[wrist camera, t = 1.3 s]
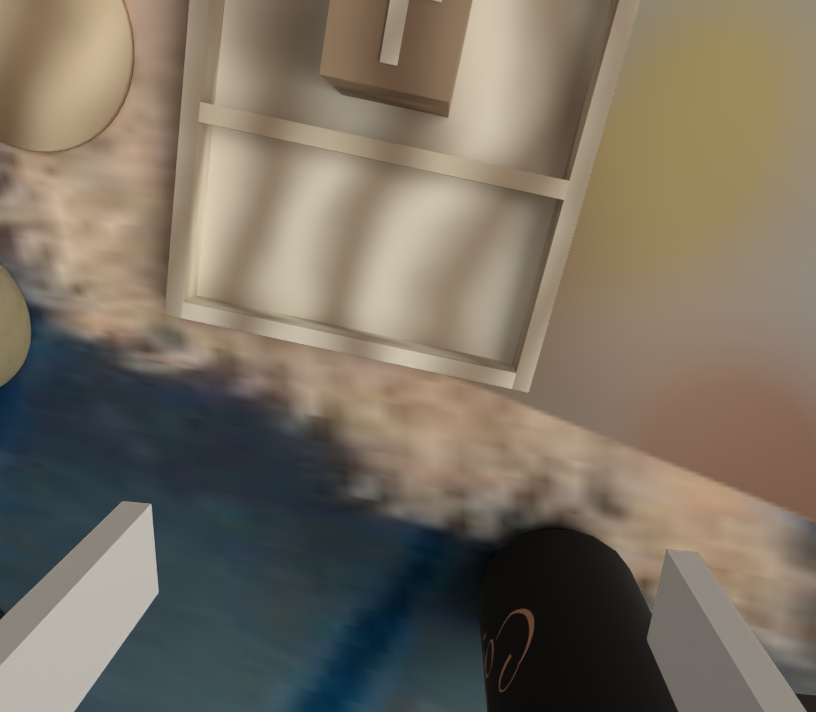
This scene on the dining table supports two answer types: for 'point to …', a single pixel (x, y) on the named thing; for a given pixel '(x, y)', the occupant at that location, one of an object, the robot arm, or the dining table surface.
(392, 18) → the letter cube
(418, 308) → the tray
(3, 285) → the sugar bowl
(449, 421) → the dining table surface
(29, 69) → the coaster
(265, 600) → the dining table surface
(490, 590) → the coffee jar
